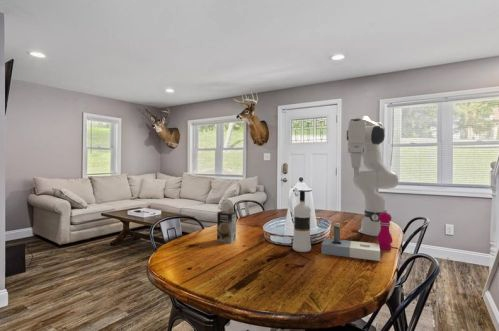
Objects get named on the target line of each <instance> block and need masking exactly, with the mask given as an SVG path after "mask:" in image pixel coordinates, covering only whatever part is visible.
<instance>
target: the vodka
mask: <svg viewBox="0 0 499 331" xmlns="http://www.w3.org/2000/svg"><path fill="white" fill-rule="evenodd" d="M305 192H306V191H305V190H300V191H299V204H296V205H295V206H294V208H293V217H294V218H293V243H292V249H293V250H294V251H295V252H299V253H308V252H310V251H311V250H312V245H311V207H310V206H309V205H308V204H306V200H305V199H306V193H305Z"/></svg>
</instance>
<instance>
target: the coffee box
mask: <svg viewBox="0 0 499 331" xmlns="http://www.w3.org/2000/svg"><path fill="white" fill-rule="evenodd" d="M216 214H217V219H216V220H217V223H216V224H217V225H216V229H217V230H216V231H217V233H216V234H217V235H216V238H217V239H216V241H217V242H219V243H226V244H228V243H229V244H232V243H234V242H235V241H237V212H235V211H225V210H221V211H218V212H217V213H216Z"/></svg>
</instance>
